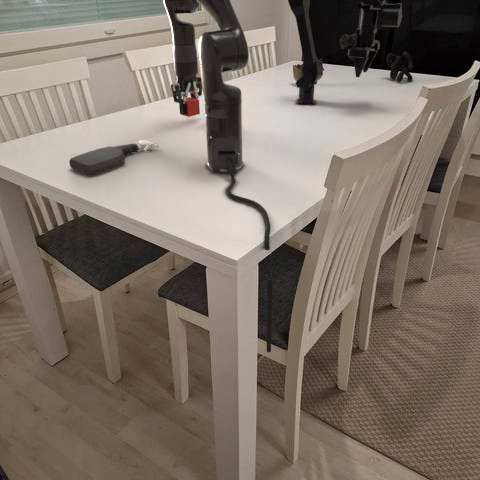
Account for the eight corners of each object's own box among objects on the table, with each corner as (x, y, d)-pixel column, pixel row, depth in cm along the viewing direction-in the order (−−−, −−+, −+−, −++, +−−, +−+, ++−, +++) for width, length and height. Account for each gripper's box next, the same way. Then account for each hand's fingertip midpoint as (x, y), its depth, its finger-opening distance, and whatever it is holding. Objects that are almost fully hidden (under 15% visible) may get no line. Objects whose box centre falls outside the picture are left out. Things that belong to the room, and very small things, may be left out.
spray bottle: (67, 168, 120) (139, 144, 136) (91, 178, 114) (163, 151, 130) (65, 157, 118) (137, 134, 134) (89, 167, 112) (162, 142, 128)
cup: (289, 85, 195) (289, 66, 191) (295, 82, 200) (296, 63, 196) (305, 87, 192) (306, 67, 188) (311, 83, 197) (312, 64, 193)
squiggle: (400, 92, 202) (376, 71, 205) (417, 76, 202) (392, 56, 205) (405, 81, 191) (380, 59, 194) (423, 64, 191) (397, 42, 194)
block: (190, 111, 154) (189, 97, 151) (199, 114, 151) (199, 99, 148) (179, 114, 151) (178, 99, 148) (188, 117, 148) (187, 102, 145)
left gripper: (190, 54, 148) (193, 105, 157) (161, 61, 138) (166, 116, 147) (208, 56, 145) (211, 108, 154) (180, 64, 135) (184, 119, 144)
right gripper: (351, 21, 159) (347, 67, 167) (335, 28, 145) (330, 77, 154) (383, 23, 155) (376, 70, 163) (369, 29, 141) (362, 80, 149)
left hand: (189, 112), depth 151 cm, fingers closed on block, 5 cm apart
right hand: (361, 74), depth 157 cm, fingers open, 9 cm apart
